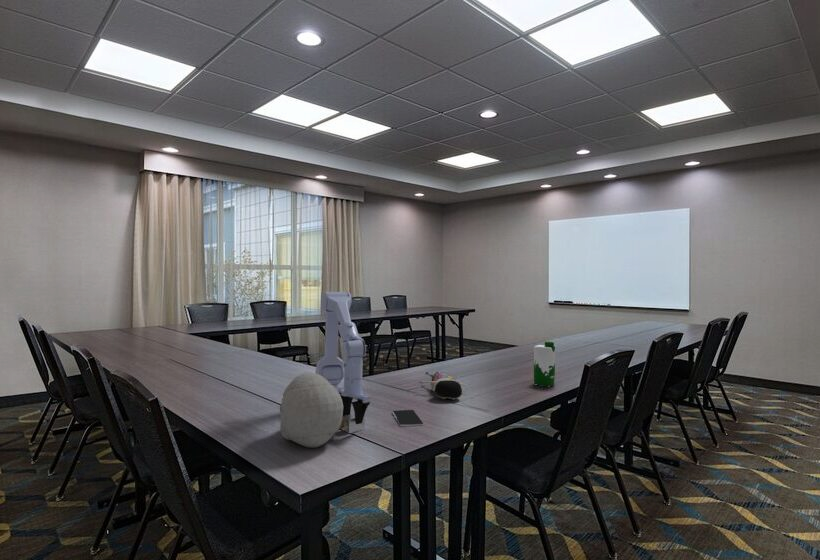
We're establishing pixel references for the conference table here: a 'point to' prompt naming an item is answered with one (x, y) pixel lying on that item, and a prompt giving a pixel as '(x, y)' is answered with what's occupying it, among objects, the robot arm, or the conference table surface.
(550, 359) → the milk carton
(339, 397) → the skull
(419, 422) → the smartphone
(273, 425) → the conference table surface
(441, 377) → the toy
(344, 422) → the grey rectangular block
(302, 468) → the conference table surface
